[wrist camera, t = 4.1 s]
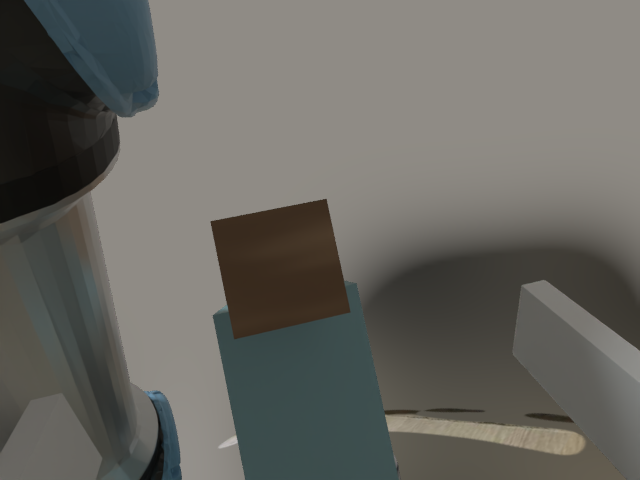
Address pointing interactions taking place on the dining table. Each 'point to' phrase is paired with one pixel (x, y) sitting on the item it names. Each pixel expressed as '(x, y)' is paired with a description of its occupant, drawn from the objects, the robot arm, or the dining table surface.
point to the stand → (307, 399)
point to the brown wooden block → (280, 268)
